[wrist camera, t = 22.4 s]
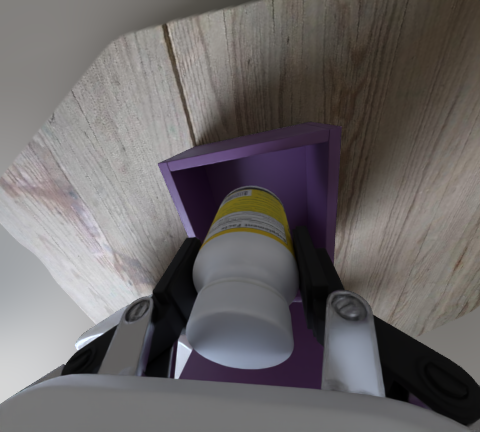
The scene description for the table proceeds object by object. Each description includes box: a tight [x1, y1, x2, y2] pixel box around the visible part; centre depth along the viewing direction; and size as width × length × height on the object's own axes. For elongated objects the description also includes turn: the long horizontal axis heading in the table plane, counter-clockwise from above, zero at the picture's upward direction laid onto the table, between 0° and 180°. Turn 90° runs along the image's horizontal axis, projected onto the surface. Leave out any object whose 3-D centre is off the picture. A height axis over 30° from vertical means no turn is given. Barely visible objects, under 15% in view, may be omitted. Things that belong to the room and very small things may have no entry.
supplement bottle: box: [186, 186, 300, 369], centre depth 11 cm, size 5×5×10 cm
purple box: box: [158, 122, 342, 301], centre depth 21 cm, size 18×14×9 cm
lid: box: [179, 302, 324, 390], centre depth 12 cm, size 18×14×5 cm
